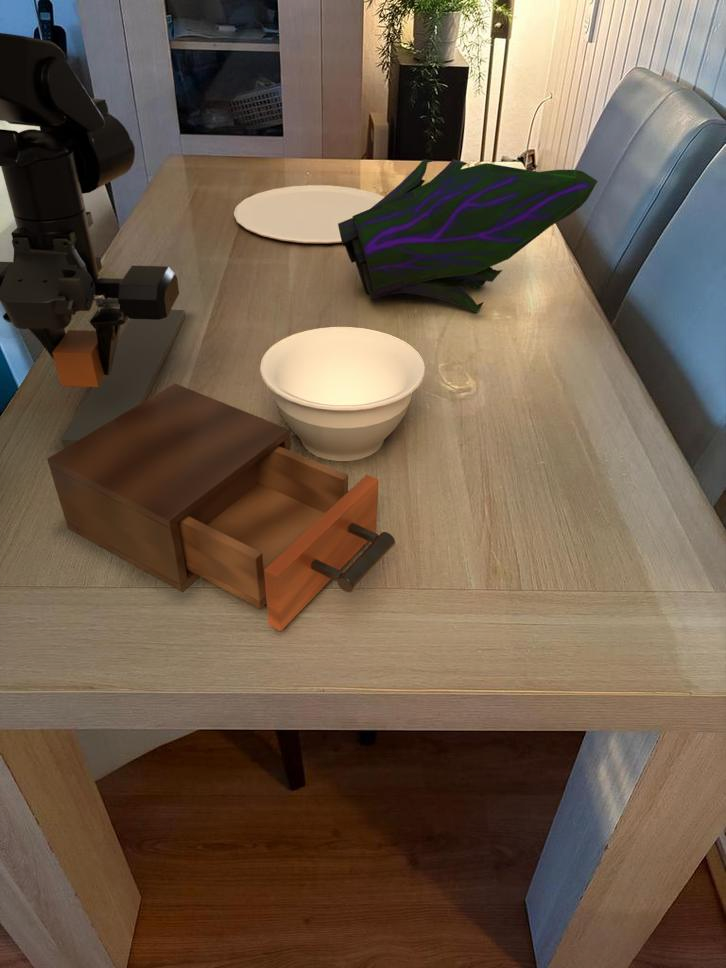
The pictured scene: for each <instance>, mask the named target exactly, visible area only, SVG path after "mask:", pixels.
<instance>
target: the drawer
mask: <svg viewBox="0 0 726 968" xmlns="http://www.w3.org/2000/svg"><path fill="white" fill-rule="evenodd" d="M379 481H380V480H379V479H378V478H375V477H374V476H371V475H369V474H366V475H365V476H364V477H362V478H361V479H360V480H359V481H358V482H357V483H356V484H354V486H353V487H352V488H351V489H349V475H348V474H347V473H344V472H343V471H340V470H338V469H335V468H332V467H330V466H328V465H325V464H323V463H320V462H318V461H315V460H313V459H311V458H308V457H306V456H304V455H302V454H299V453H296V452H294V451H292V450H291V451H289V450H287V449H285V448H282V447H280V446H277V447H276V448H275V449H273V450H272V451H271V452H269V453H268V454H267V455H265V456H264V457H263V458H261V459H260V460H259V461H258V462H256V463H255V464H254V465H252V466H251V467H250V468H248V469H247V470H246V471H245V472H243V473H242V474H241V475H239V476H238V477H237V478H235V479H234V480H233V481H231V482H230V483H229V484H228V485H226V486H225V487H224V488H222V489H221V490H220V491H218V492H217V493H216V494H215V495H213V496H212V497H211V498H209V499H208V500H207V501H205V502H204V503H203V504H201V505H200V506H199V507H198V508H196V509H195V510H194V511H192V512H191V513H190V514H188V515H187V516H186V517H185V518H183V519H182V520H181V521H179V522H178V527H179V533H180V539H181V544H182V550H183V556H184V561H185V567H186V569H187V570H189V571H191V572H193V573H195V574H197V575H199V576H200V577H199V578H202V579H204V580H206V581H208V582H210V583H211V584H213V585H215V586H216V587H219V588H220V589H222V590H224V591H226V592H228V593H230V594H232V595H234V596H236V597H237V598H239V599H241V600H243V601H245V602H246V603H249V604H251V605H253V606H254V607H256V608H258V609H262V608H263V607H264V606H265V605H266V610H267V611H266V612H267V621H268V623H267V624H268V625H269V626H270V627H272V628H274V629H276V630H277V631H279V632H282V631H283V630H284V629H285V627H287V625H289V623H290V622H292V620H294V618H295V617H296V616H297V615H298V614H299V613H300V612H301V611H302V610H303V609H304V608H305V607H306V606H307V605H308V604H309V603H310V602H311V601H312V600H313V598H315V597H316V595H317V594H318V593H319V592H320V591H322V589H323V588H324V587H325V586H326V585H327V584H328V583H329V582H330V581H331V580H333V581H335V582H337V584H338V587H339V588H340V589H341V591H343V592H345V593H352V592H353V591H354V590H355V589H356V588H357V587H358V586H359V584H361V582H363V580H364V579H365V578H366V577H367V576H368V575H369V573H371V572H372V570H373V569H374V568H375V567H376V566H377V565H378V564H379V563H380V562H381V560H382V559H383V558H384V557H385V556H386V555H387V554H388V553H389V552H390V551H391V550H392V549H393V547H394V546H395V545H396V540H395V538H394V536H393V535H392V534H391V533H390V532H387V531H382V532H380V533H377V529H378V528H377V525H378V524H377V523H378V504H379V503H378V502H379V483H380V482H379ZM367 542H370V544H369V545H368V546H367V547H366V548H365V549H364V550H363V551H362V552H361V554H359V556H357V558H356V559H354V561H353V562H352V563H351V564H350V565H349V566H348V567H347V568H346V569H345V570H344V571H341V570H342V569H343V568H344V567H345V565H347V563H348V562H349V561H350V560H351V559H352V558H353V557H354V556H355V555H356V554H357V553H358V552H359V551H360V550H361V549H362V548H363V547H364V546H365V545H366V543H367Z"/></svg>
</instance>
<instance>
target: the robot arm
mask: <svg viewBox="0 0 726 968" xmlns="http://www.w3.org/2000/svg"><path fill="white" fill-rule="evenodd" d="M67 60H68V58H67V55H66V54H65V52H64V51H63V50H62V48H61V47H59V46H58V45H57V44H56V43H55V42H53V41H50V40H46V39H42V38H41V39H40V38H35V37H32V36H31V37H30V36H25V35H18V34H11V33H6V32H5V33H4V32H0V122H1V121H2V122H5V123H6V122H7V123H8V124H10V125H19V126H29V127H39V129H35V128H33V129H32V128H31V129H24V130H21V131H19V132H18V131H17V130H13V129H3V128H2V129H1V128H0V168H1V172H2V175H3V180H4V184H5V186H6V191H7V195H8V198H9V203H10V205H11V210H12V214H13V217H14V221H15V226H16V228H15V229H14V230H12V232H10V234H11V238H12V240H11V244H12V248H13V259H12V260H13V261H0V303H1V305H2V307H3V309H4V311H5V313H4V314H3V315H2V318H3V320H4V321H6V323H11V324H12V325H13V327H14V328H16V329H19V330H29V331H30V332H31V333H32V334H33V336H34V337H35V338H36V339H37V340H38V341H39V342H40V343H41V345H42V346H43V348H44V349H45V350H46V352H47V353H48V354H49V356H50V357H51V359H52V360H53V361H54V358H53V354H52V352H53V351H54V350H55V348H56V347H57V345H58V344H59V343H60V341H61V340H62V338H63V337H64V336H65V334H66V330H65V328H67V327H68V326H69V325H70V324H71V321H72V319H73V317H72V316H75V315H76V313H78V312H90V311H91V310H92V306H93V304H94V302H95V306H97V310H96V312H95V313H94V314H93V316H92V317H91V318H90V320H89V323H90V325H91V326H92V327H93V329H94V331H96V334H97V341H98V348H99V355H100V362H101V365H102V368H103V372H104V375H109V374H110V372H111V369H112V364H113V359H114V355H115V350H116V346H117V345H118V339H119V335H120V330H121V326H122V325H125V324H126V323H127V322H128V319H130V320H133V319H153V320H160V319H163V318H166V317H167V316H168V314H169V312H170V310H172V309H173V306H174V305H175V303H176V301H177V299H178V297H179V295H180V288H179V282H178V276H177V275H176V274H175V272H174V271H173V270H172V269H171V268H170V266H167V265H166V266H165V265H163V266H161V265H160V266H159V265H131V266H130V268H129V269H128V270H127V272H126V273H125V275H124V276H123V277H122V276H121V277H119V276H112V277H111V276H110V277H100V271H101V270H102V269H103V265H102V261H101V257H99V256H96V254H95V249H94V245H93V239H92V235H91V230H90V227H92V225H93V224H94V220H93V215H92V211H86V205H85V202H84V196H83V194H90V193H92V192H94V191H95V190H96V191H97V189H99V188H102V187H103V186H105V185H107V184H109V183H111V182H112V181H114V180H116V179H118V178H120V177H121V176H124V175H125V174H127V173H128V172H129V171H130V170H131V168H132V167H133V165H134V162H135V159H136V158H135V157H136V151H135V149H136V148H135V142H134V140H133V139H132V138H131V136H130V134H129V133H130V132H129V131H128V130H127V129H126V127H125V125H124V124H123V123H122V122H121V121H120V120H119V119H117V118H116V117H115V116H113V115H112V114H111V113H109V112H110V111H109V105H108V101H107V100H106V99H103V98H91V96H90V95H89V93H88V92H87V90H86V88H85V87H84V85H83V83H82V82H81V80H80V79H79V77H78V76H77V74H76V72H75V71H74V69H73V68H72V66H71V65H70V64H69V62H67Z"/></svg>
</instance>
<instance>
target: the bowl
mask: <svg viewBox="0 0 726 968" xmlns="http://www.w3.org/2000/svg"><path fill="white" fill-rule="evenodd" d="M259 373H260V377H261V379H262V381H263V382H264V384H265V385H266V386H267V387H268V388H269V389H270V390H271V391H272V395H273V400H274V401H275V404H276V407H277V409H278V412H279V414H280V416H281V417H282V418H283V421H284V422H285V423H286V424H287V426H288V427H289V430H290V431H292V432H293V433H294V434H295V435H296V436H297V437H298V438H299V439H300V442H301V444H302V446H303V448H304V449H306V450H307V451H308V452H309V453H310V454H311V455H314V456H316V457H318V458H321V459H324V460H328V461H335V462H351V461H352V462H353V461H357V460H362V459H365V458H367V457H370V456H372V455H373V454H375V453H377V452H378V451H379V450H380V449H381V447H382V446H383V445H384V443H385V439H387V437H388V436H390V434H392V432H394V430H395V429H396V428H397V427H398V425H399V424H400V422H401V421H402V419H403V418H404V416H405V415H406V413H407V411H408V407H409V405H410V403H411V401H412V396H413V392H414V391H415V390H416V389H417V388H419V387H420V386H421V384H422V382H423V380H424V379H425V374H426V367H425V362H424V359H423V357H422V356H421V354H420V353H419V351H417V349H416V348H414V347H413V345H411V344H409V343H408V342H406V341H404V340H403V339H401V338H398V337H396V336H394V335H391V334H389V333H386V332H382V331H378V330H375V329H370V328H369V329H368V328H363V327H351V326H331V327H320V328H312V329H308V330H304V331H301V332H297V333H294V334H293V333H292V334H290V335H288V336H287V337H284V338H282V339H281V340H279V341H277V342H276V343H274V344H273V345H271V346H270V347H269V349H268V350H266V351H265V353H264V355H263V356H262V358H261V360H260V366H259Z"/></svg>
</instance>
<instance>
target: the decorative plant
mask: <svg viewBox="0 0 726 968" xmlns="http://www.w3.org/2000/svg"><path fill="white" fill-rule="evenodd" d="M432 162H434V160H432V159H425V158H424V159H422V160H421V161H420V162H419V164H418V165H417V166H416V168H414V169H413V170H412V171H411V172H410V173H409V174H408V175H407V176H406V177H405V178H404V179H403V180H402V181H401V182H400V183H399V184H398V185H397V186H396V187H394V189H392V190H391V191H390V192H389V193H387V194H386V195H385V196H384V198H383V199H382V200H380V201H379V202H378V203H377V204H375V205H374V206H373V207H372V208H370V209H369V210H366V211H364V212H361V213H359V214H357V215H354V216H352V217H353V218H351V219H348V220H346V221H343V222H341V223H338V227H339V232H340V236H341V240H342V242H341V244H342V247H345V250H346V254H347V255H348V258H349V260H350V262H351V264H353V263H355V265H356V268H357V272H358V275H359V278H360V281H361V284H362V287H363V290H364V293H365V294H368V295H369V297H370V299H371V300H374V299H377V298H380V297H384V296H387V295H396V294H412V295H418V296H421V297H422V296H423V297H426V298H427V297H428V298H432V299H436V300H440V301H444V302H446V303H447V302H448V303H451V304H453V305H456V306H459V307H462V308H465V309H467V310H469V311H472V312H474V313H476V314H477V313H478V312H479V310H480V309H481V307H482V306H483V304H484V303H485V302H484V301H483V302H480V303H478V304H477V303H476V302H475V300H474V299H473V298H472V296H471V295H470V294H469V293H468V292H466V290H464V289H463V288H466V287H467V288H473V289H478V290H479V289H480V288H482V287H483V286H484V285H485V284H486V282H489V283H493V281H494V280H495V279H496V278H497V277H498V276H499V275H500V274H501V273H502V272H503V269H499V270H498V269H494V268H493V266H495V265H498V264H500V263H503V262H505V261H508V260H510V259H511V258H512V257H514V256H515V255H516V254H517V253H518V252H520V251H521V250H522V249H524V248H525V247H526V246H528V245H529V244H530V243H531V242H533V241H534V240H535V239H536V238H537V237H539V236H540V235H541V234H543V233H544V232H545V231H546V230H548V229H549V228H551V226H553V225H555V224H557V223H559V222H560V221H562V220H564V219H565V218H567V217H569V216H571V215H572V214H573V213H574V212H576V211H577V210H579V209H580V208H581V207H582V206H583V205H584V204H585V203H586V202H587V201H588V199H589V197H590V196H591V194H592V192H593V190H594V189H595V187H596V185H597V183H598V180H597V179H595V178H594V177H592V176H591V175H589V174H588V173H586V172H585V171H583V170H578V169H552V170H542V171H541V170H540V171H536V170H530V169H524V168H518V167H512V166H508V165H507V166H506V165H502V164H501V165H500V164H495V163H494V164H493V163H488V162H485V163H481V164H477V165H473V166H469V167H464V166H467V164H469V162H466V161H463V160H458V159H454V158H453V159H452V160H451V161H450V162H449V163H448V164H447V165H446V166H445V167H444V168H443V169H442V170H441V171H440V172H439V173H438V174H437V175H436V176H435V177H433V178H432V179H431V180H430V181H428V182H426V180H425V179H423V178H424V176H425V174H426V173H427V167H428V164H429V163H432ZM463 167H464V168H463ZM425 182H426V183H425Z"/></svg>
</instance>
